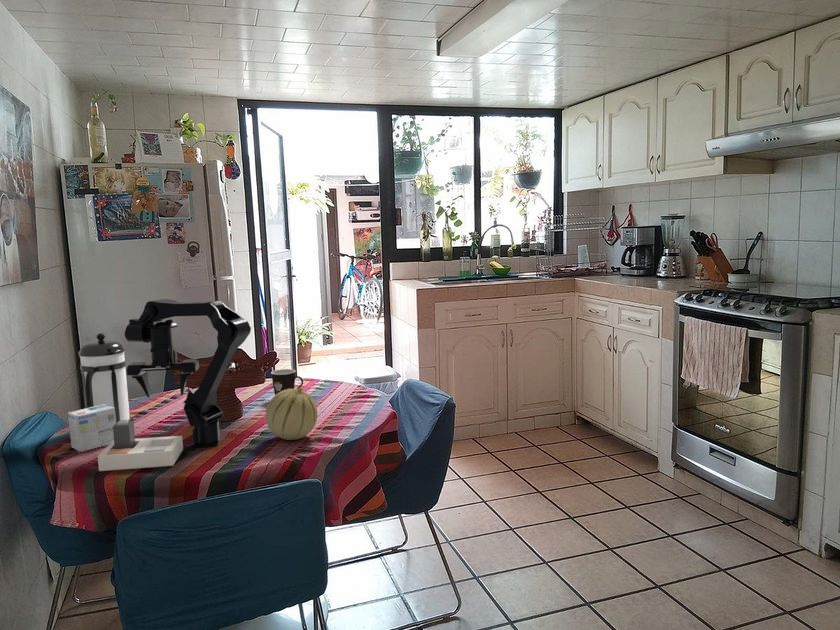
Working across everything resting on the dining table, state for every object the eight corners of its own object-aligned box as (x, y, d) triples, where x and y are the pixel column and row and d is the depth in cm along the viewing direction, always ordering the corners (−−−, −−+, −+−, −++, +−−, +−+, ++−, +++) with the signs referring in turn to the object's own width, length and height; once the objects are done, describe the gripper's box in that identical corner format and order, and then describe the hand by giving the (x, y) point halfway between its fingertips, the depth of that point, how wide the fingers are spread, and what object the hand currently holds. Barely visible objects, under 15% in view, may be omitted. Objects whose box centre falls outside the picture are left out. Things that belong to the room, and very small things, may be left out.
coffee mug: (268, 399, 221) (266, 371, 220) (288, 394, 227) (287, 368, 226) (284, 405, 213) (283, 377, 211) (305, 400, 218) (304, 373, 217)
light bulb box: (108, 438, 182) (105, 403, 180) (119, 442, 177) (116, 406, 176) (70, 448, 173) (66, 411, 172) (80, 453, 169) (76, 415, 168)
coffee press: (71, 429, 190) (61, 334, 186) (124, 417, 202) (116, 327, 198) (91, 442, 178) (81, 340, 174) (146, 428, 190) (138, 333, 186)
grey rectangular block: (136, 456, 166) (133, 418, 165) (132, 461, 162) (128, 423, 161) (120, 457, 165) (117, 419, 164) (116, 463, 161) (112, 424, 160)
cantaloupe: (264, 434, 183) (261, 385, 181) (313, 427, 188) (311, 379, 186) (270, 450, 169) (268, 397, 167) (323, 442, 174) (321, 391, 172)
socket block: (183, 449, 171) (182, 434, 170) (173, 465, 159) (171, 449, 158) (114, 454, 168) (113, 439, 167) (98, 471, 156) (97, 454, 156)
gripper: (200, 337, 185) (204, 387, 187) (135, 339, 182) (139, 391, 184) (193, 343, 174) (197, 397, 176) (123, 346, 171) (128, 401, 173)
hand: (165, 396), depth 178 cm, fingers open, 9 cm apart
